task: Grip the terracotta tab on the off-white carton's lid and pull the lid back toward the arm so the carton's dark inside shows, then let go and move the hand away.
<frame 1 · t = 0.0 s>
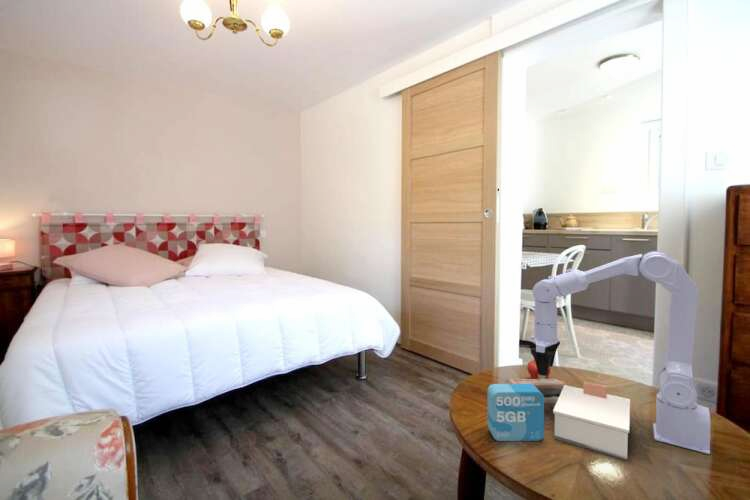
hand: (545, 370, 98), 10 cm above the table, tool pointing down, fingers open, 7 cm apart
carton lid: (592, 400, 85), point 8 cm above the table, slide at 0.0 cm
data package: (515, 436, 85), on the table
apple: (538, 381, 115), on the table
carton: (592, 432, 85), on the table
packaged product: (537, 397, 105), on the table
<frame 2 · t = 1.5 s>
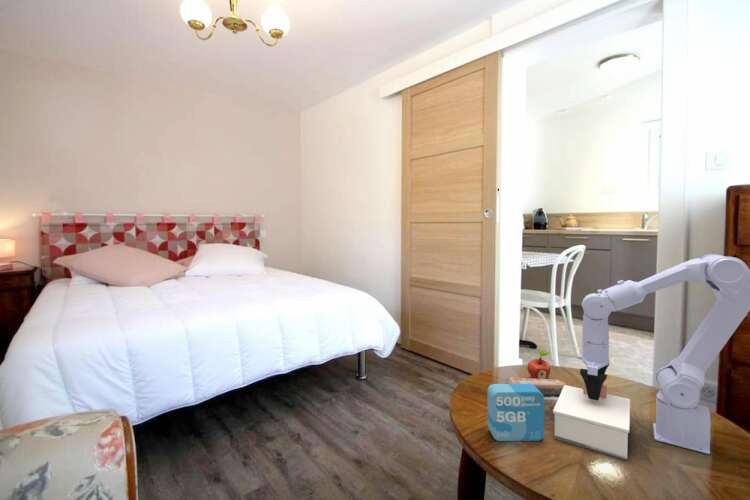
hand: (594, 393, 90), 7 cm above the table, tool pointing down, fingers open, 7 cm apart
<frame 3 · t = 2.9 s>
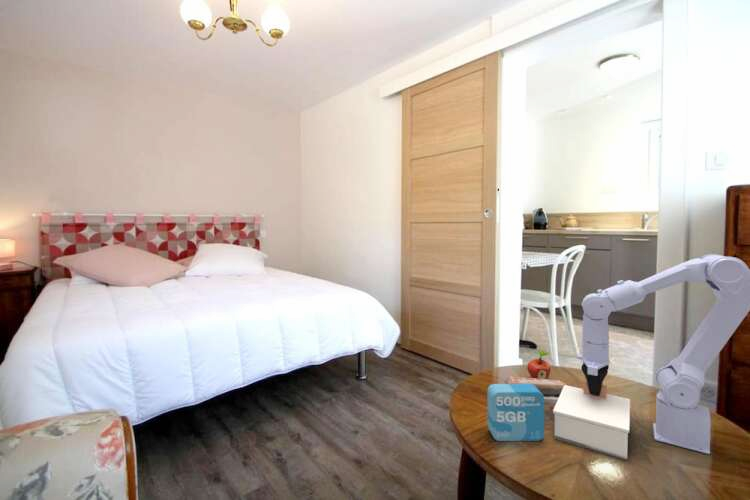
hand: (594, 393, 90), 7 cm above the table, tool pointing down, fingers closed on carton lid
carton lid: (592, 400, 85), point 8 cm above the table, slide at 0.0 cm, touching gripper
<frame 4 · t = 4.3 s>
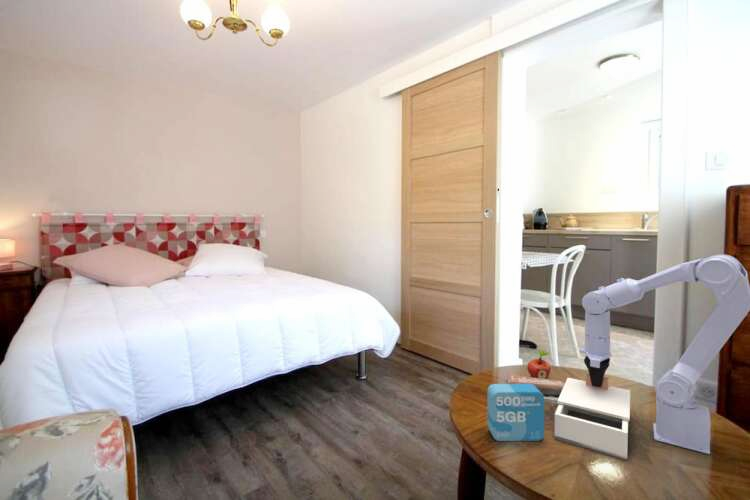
hand: (596, 384, 94), 7 cm above the table, tool pointing down, fingers closed on carton lid
carton lid: (594, 391, 89), point 8 cm above the table, slide at 5.8 cm, touching gripper
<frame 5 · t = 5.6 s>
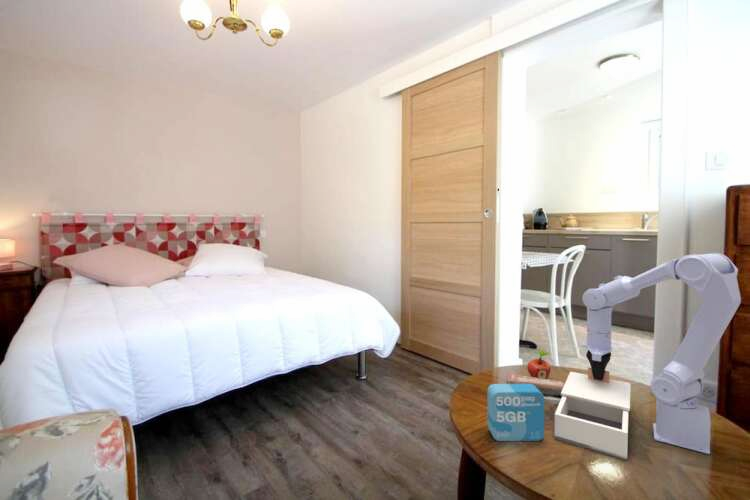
hand: (598, 378, 98), 7 cm above the table, tool pointing down, fingers closed on carton lid
carton lid: (596, 383, 93), point 8 cm above the table, slide at 11.0 cm, touching gripper
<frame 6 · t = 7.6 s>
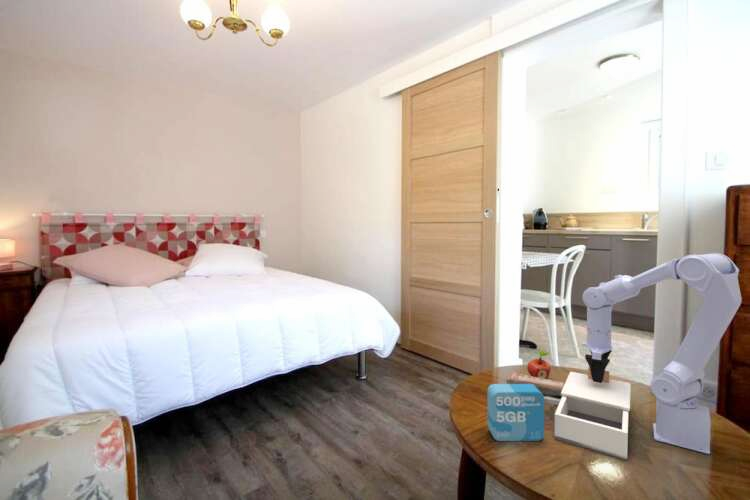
hand: (598, 376, 98), 8 cm above the table, tool pointing down, fingers open, 7 cm apart
carton lid: (596, 383, 93), point 8 cm above the table, slide at 11.0 cm
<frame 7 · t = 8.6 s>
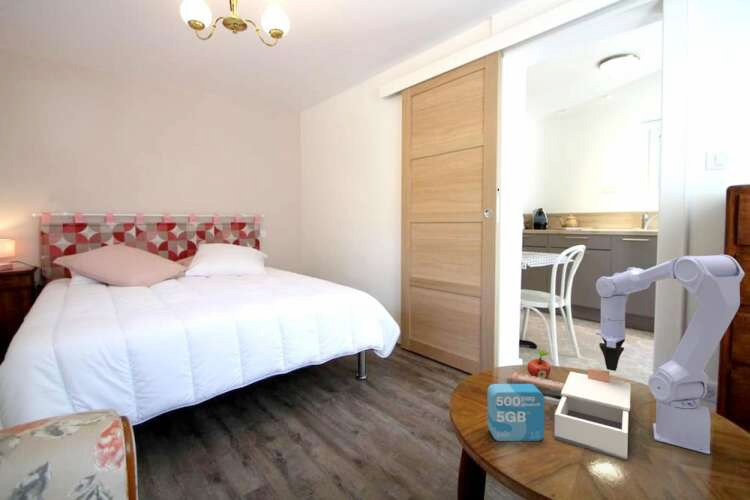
hand: (612, 365, 100), 10 cm above the table, tool pointing down, fingers open, 7 cm apart
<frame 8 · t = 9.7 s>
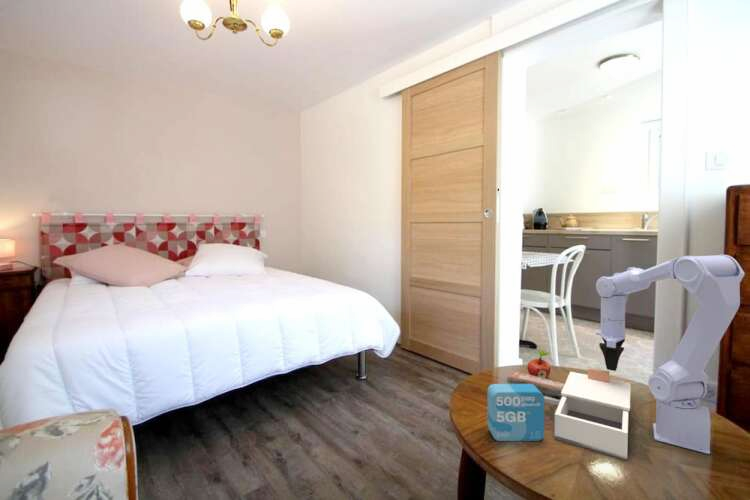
hand: (612, 365, 100), 10 cm above the table, tool pointing down, fingers open, 7 cm apart
at the end: carton lid slide at 11.0 cm; the gripper is holding nothing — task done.
